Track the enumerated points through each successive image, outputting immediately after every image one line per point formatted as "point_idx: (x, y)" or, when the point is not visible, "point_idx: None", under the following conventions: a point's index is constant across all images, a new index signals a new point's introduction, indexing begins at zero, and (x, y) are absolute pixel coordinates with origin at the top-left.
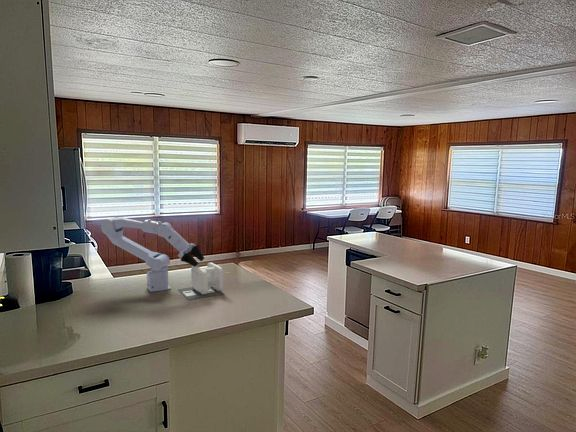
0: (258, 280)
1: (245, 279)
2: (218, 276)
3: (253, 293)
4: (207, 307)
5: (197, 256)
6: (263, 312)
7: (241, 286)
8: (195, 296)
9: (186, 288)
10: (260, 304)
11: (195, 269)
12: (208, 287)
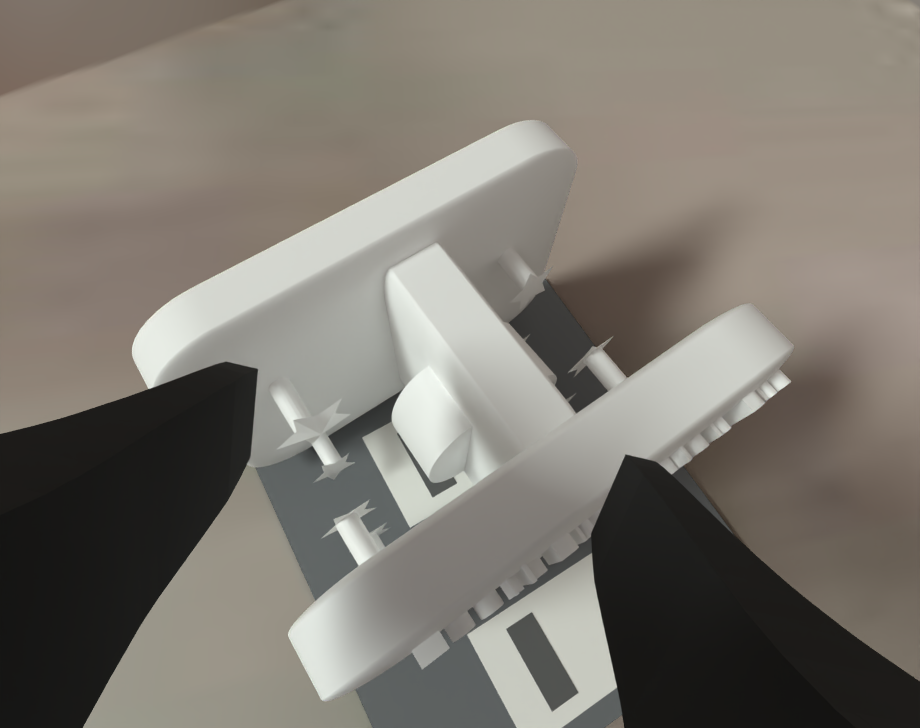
0: (161, 63)
1: (109, 152)
2: (535, 236)
3: (504, 86)
4: (901, 371)
5: (161, 554)
6: (861, 31)
7: (323, 170)
8: None
9: (393, 725)
10: (727, 46)
11: (573, 545)
12: (569, 397)
